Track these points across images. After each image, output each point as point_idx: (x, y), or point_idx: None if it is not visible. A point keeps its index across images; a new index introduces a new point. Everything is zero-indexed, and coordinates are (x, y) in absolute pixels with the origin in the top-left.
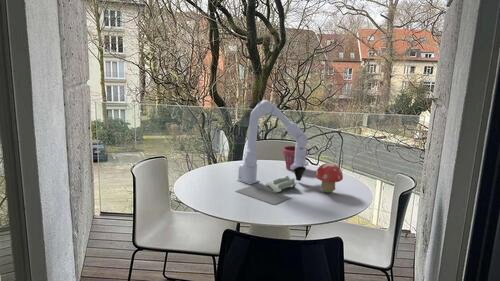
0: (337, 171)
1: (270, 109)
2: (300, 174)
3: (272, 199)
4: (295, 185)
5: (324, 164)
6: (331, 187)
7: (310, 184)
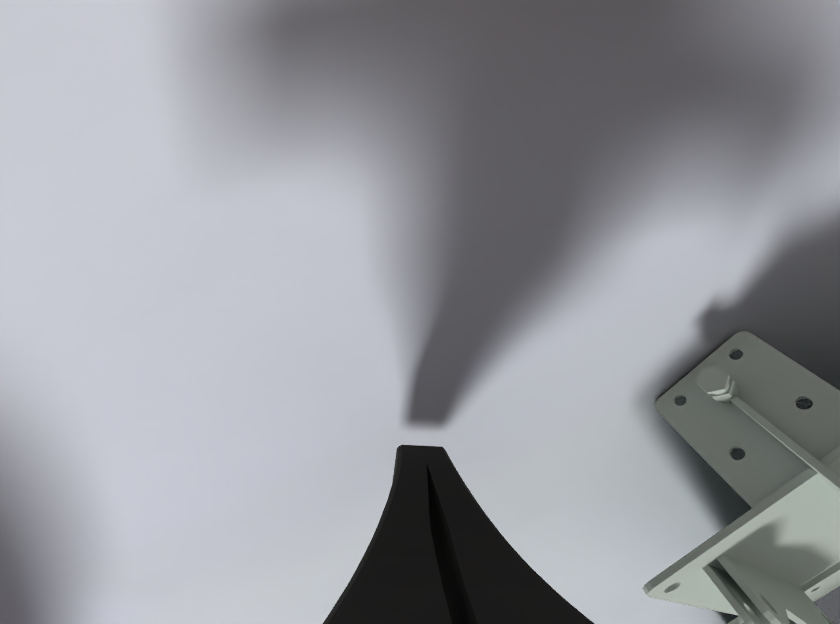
0: None
1: None
2: (497, 542)
3: None
4: (725, 374)
5: None
6: None
7: (348, 251)
